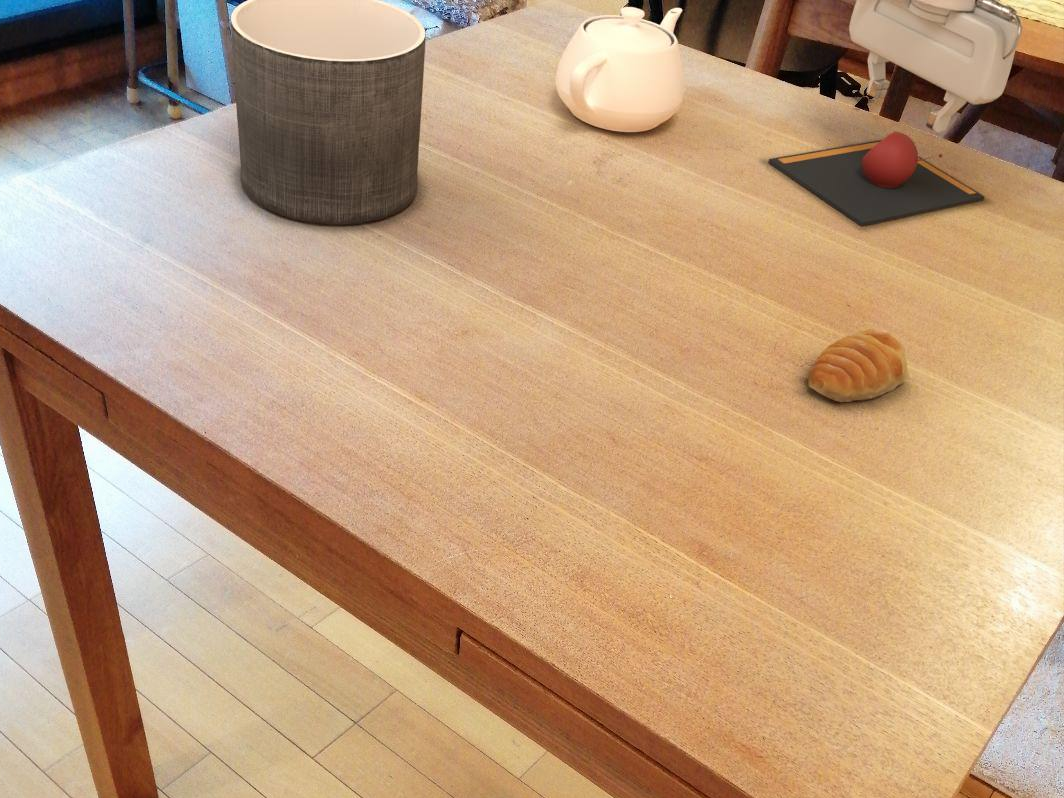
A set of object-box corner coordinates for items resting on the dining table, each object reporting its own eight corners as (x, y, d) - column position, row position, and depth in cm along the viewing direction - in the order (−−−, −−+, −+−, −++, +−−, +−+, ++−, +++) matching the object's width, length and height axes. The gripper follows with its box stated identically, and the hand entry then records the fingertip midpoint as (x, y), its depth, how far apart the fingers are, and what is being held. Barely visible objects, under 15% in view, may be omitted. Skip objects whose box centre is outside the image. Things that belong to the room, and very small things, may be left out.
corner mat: (887, 142, 137) (889, 138, 137) (983, 200, 128) (985, 196, 127) (767, 162, 128) (769, 158, 128) (861, 226, 119) (863, 222, 119)
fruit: (877, 208, 126) (932, 163, 120) (847, 168, 126) (900, 122, 120) (899, 193, 130) (953, 149, 124) (870, 155, 130) (922, 109, 124)
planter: (323, 131, 120) (322, -22, 110) (451, 187, 114) (463, 31, 104) (202, 180, 109) (188, 15, 98) (338, 246, 103) (338, 77, 92)
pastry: (847, 420, 92) (861, 382, 90) (785, 380, 96) (797, 343, 93) (909, 385, 97) (924, 349, 95) (848, 348, 101) (861, 312, 98)
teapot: (623, 165, 123) (644, 54, 115) (509, 121, 128) (521, 12, 120) (717, 104, 139) (741, 3, 131) (613, 67, 144) (630, -32, 136)
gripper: (1048, 11, 108) (994, 146, 118) (901, -52, 120) (862, 75, 130) (1006, 17, 105) (953, 155, 115) (860, -49, 118) (823, 81, 127)
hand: (904, 112), depth 122 cm, fingers open, 8 cm apart
